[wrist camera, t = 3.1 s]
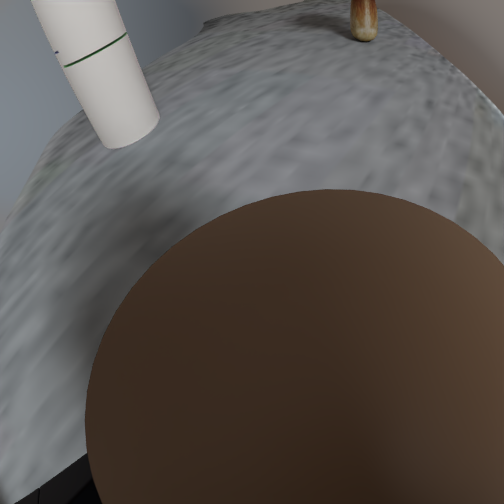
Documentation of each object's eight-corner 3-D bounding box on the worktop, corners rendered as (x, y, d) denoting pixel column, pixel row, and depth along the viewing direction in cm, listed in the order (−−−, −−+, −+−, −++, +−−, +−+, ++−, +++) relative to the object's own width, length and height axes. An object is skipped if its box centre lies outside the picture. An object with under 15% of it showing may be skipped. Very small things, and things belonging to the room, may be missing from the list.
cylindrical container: (140, 105, 33) (73, -64, 12) (172, 116, 30) (100, -88, 9) (94, 140, 31) (9, -34, 10) (119, 156, 28) (20, -57, 7)
